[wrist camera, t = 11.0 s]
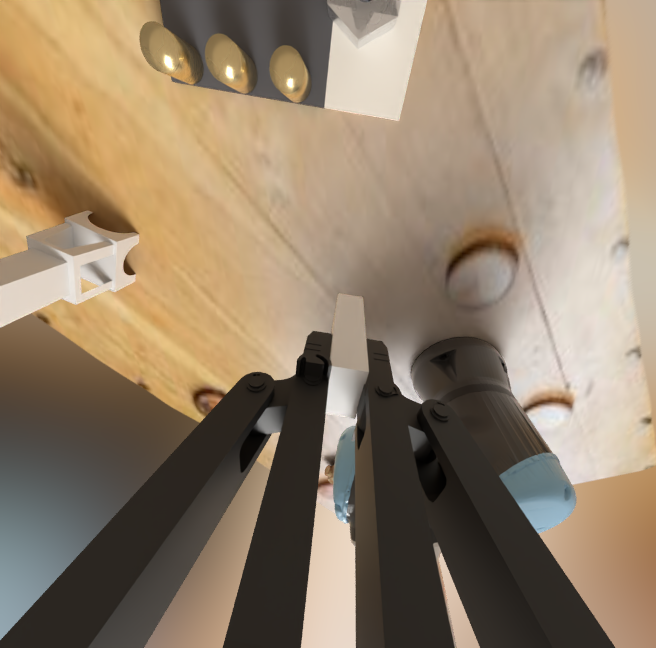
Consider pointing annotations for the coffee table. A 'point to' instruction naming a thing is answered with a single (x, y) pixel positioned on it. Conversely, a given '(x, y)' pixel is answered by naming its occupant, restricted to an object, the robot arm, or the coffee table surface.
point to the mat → (306, 49)
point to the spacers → (223, 62)
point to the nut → (364, 18)
